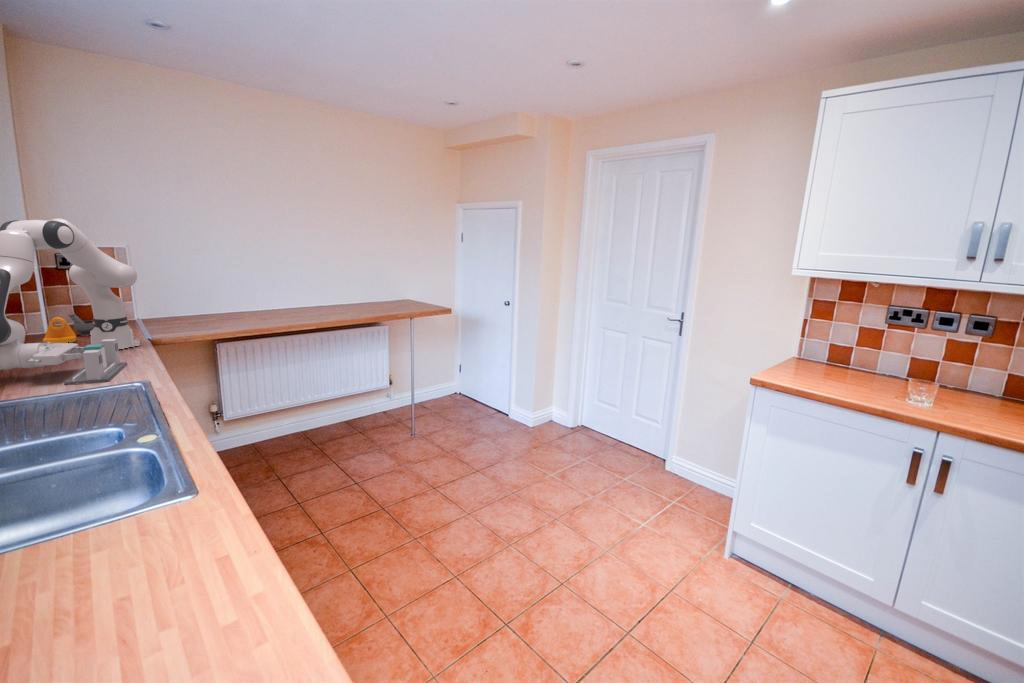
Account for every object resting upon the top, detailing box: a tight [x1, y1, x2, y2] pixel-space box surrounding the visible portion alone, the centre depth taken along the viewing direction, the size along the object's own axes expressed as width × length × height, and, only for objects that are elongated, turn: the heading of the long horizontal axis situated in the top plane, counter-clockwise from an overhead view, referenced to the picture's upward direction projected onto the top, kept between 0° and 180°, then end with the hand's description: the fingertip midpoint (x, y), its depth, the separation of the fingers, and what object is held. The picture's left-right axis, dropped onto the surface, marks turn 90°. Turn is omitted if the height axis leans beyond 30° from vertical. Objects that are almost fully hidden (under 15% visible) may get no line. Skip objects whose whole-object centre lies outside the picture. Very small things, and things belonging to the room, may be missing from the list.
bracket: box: [42, 316, 77, 344], centre depth 217 cm, size 11×7×12 cm, turn 128°
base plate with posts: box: [63, 339, 128, 386], centre depth 174 cm, size 25×12×11 cm, turn 27°
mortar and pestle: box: [67, 312, 94, 337], centre depth 234 cm, size 11×9×12 cm
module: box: [83, 344, 107, 371], centre depth 174 cm, size 5×5×10 cm
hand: (86, 352), depth 172 cm, fingers open, 8 cm apart
